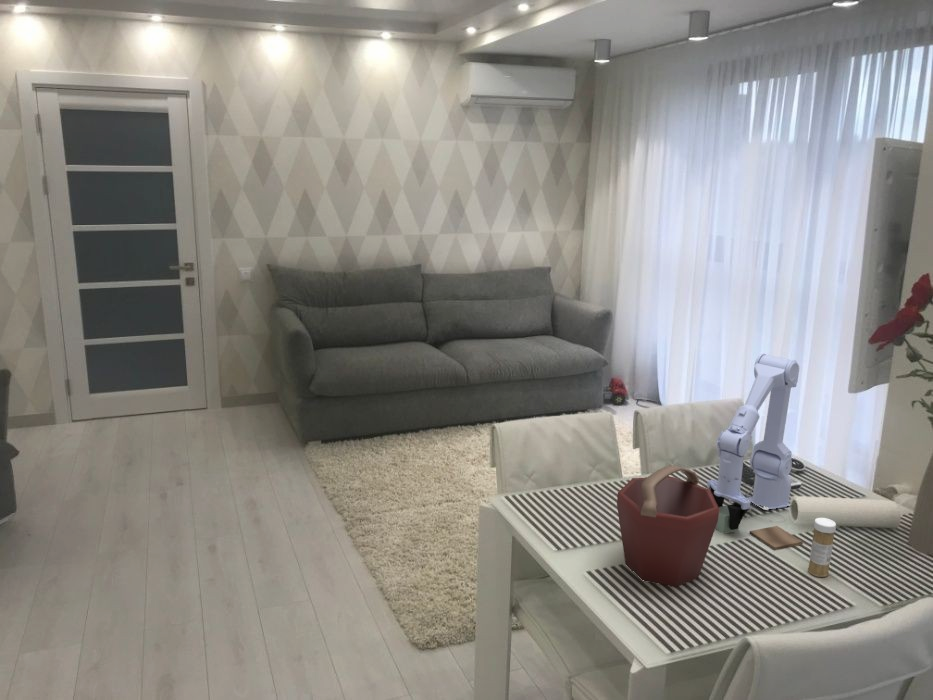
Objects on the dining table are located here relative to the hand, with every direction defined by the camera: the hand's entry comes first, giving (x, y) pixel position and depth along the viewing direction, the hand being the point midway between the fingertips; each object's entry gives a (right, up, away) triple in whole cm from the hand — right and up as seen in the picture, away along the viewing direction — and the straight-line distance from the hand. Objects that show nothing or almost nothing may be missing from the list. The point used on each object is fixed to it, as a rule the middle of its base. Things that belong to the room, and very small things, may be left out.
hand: (724, 522), depth 197 cm
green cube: (0, -1, 0) cm, 2 cm away
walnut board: (+11, -3, -5) cm, 13 cm away
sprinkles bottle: (+15, -7, -21) cm, 27 cm away
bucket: (-22, -6, -19) cm, 30 cm away
